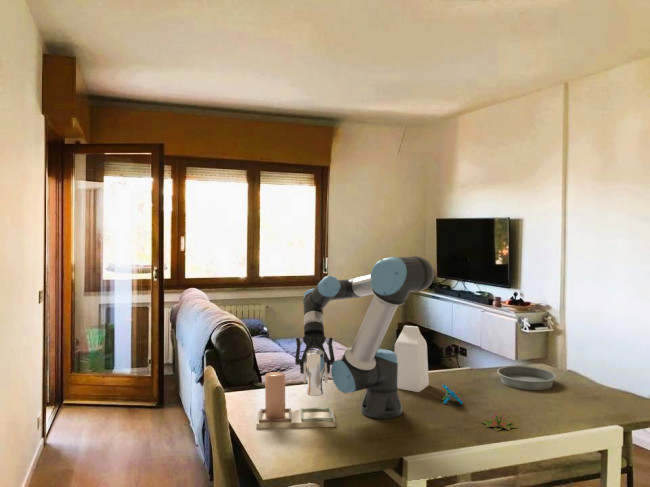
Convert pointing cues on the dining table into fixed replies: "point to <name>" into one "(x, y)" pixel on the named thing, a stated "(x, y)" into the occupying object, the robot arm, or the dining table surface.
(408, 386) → the milk
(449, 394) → the toy gun
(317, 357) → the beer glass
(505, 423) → the lily flower
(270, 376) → the tan tall block
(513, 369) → the cake pan
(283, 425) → the board
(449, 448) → the dining table surface
